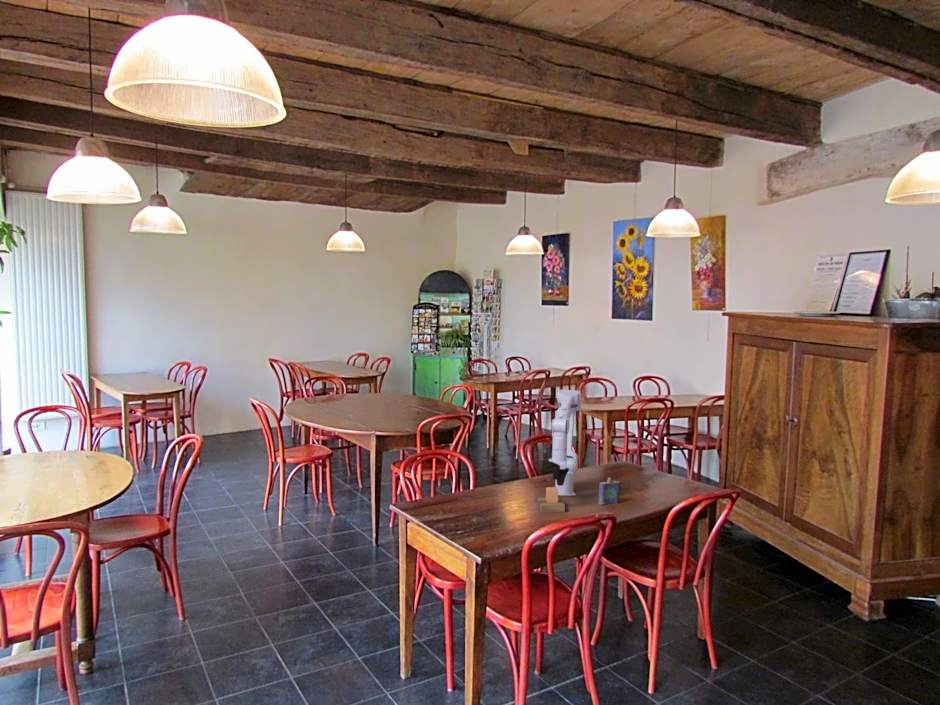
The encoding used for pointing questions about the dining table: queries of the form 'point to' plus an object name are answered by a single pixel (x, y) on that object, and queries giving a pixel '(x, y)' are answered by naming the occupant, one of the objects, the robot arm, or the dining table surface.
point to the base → (551, 505)
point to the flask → (609, 492)
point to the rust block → (551, 494)
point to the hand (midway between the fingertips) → (558, 482)
